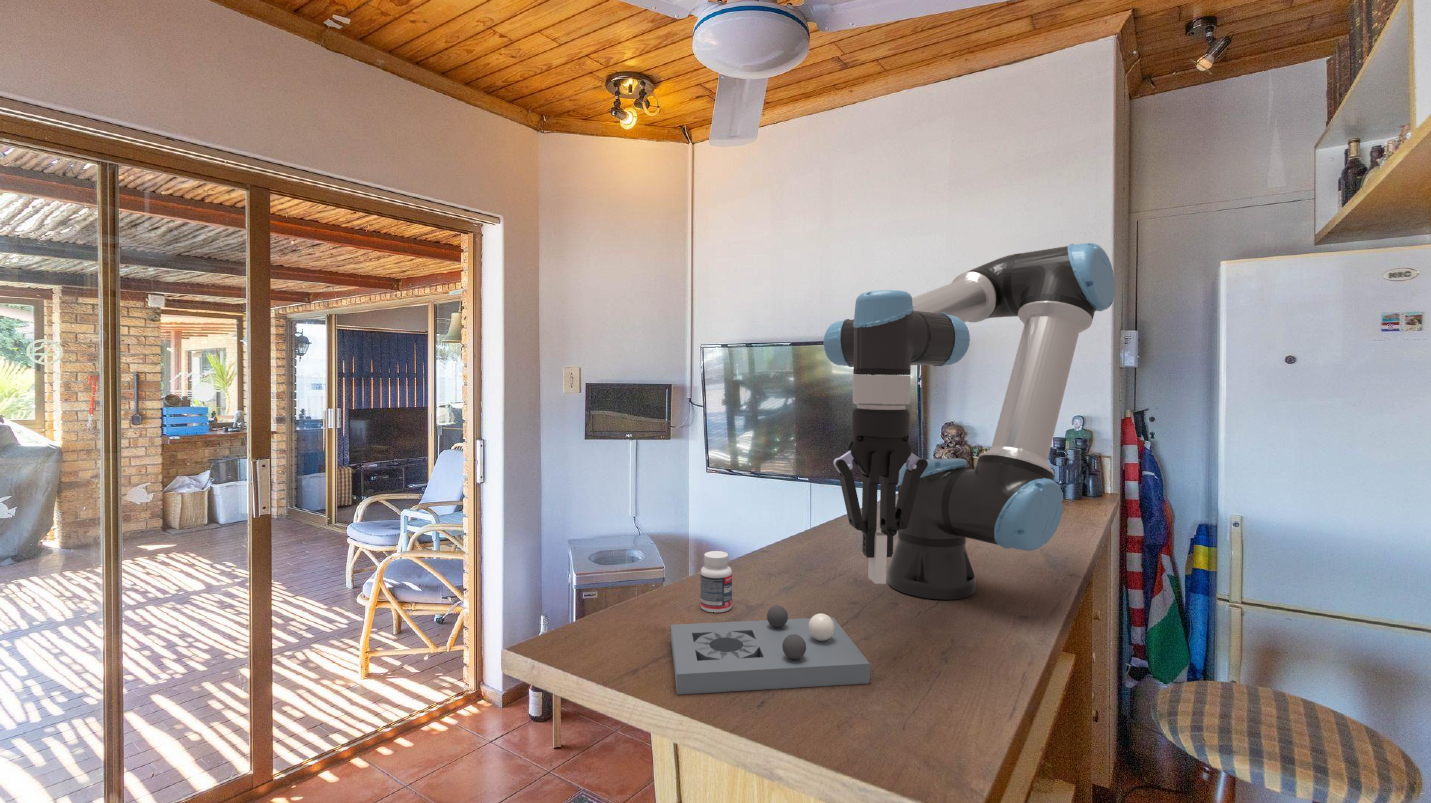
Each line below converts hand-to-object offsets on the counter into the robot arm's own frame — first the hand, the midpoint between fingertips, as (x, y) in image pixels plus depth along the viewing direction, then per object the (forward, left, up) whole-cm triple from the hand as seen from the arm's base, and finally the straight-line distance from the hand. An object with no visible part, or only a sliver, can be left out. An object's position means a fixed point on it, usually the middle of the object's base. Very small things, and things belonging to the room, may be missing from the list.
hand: (876, 580), depth 85 cm
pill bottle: (+20, -20, -11) cm, 30 cm away
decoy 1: (+13, -5, -6) cm, 15 cm away
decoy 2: (+13, +5, -6) cm, 15 cm away
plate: (+16, 0, -10) cm, 19 cm away
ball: (+8, 0, -6) cm, 10 cm away
